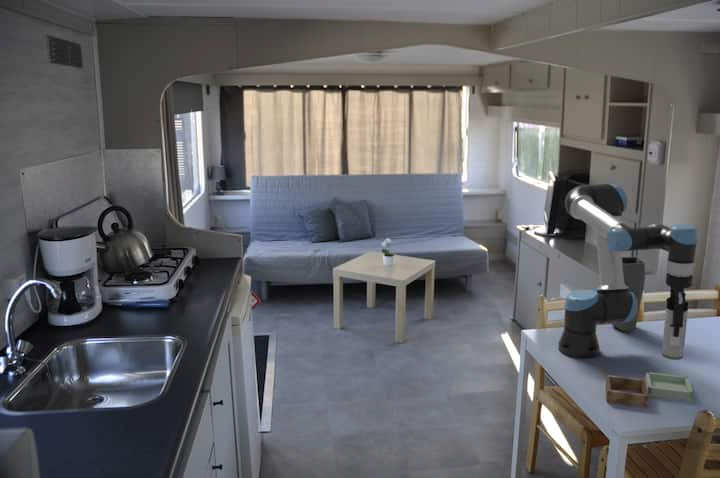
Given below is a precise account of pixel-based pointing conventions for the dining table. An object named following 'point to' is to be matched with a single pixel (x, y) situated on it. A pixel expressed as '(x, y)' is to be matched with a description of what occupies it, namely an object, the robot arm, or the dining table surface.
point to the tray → (668, 386)
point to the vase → (633, 286)
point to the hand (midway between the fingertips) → (673, 340)
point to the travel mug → (667, 349)
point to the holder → (626, 397)
